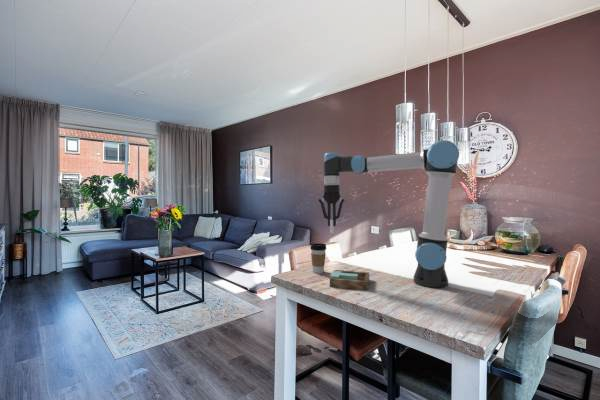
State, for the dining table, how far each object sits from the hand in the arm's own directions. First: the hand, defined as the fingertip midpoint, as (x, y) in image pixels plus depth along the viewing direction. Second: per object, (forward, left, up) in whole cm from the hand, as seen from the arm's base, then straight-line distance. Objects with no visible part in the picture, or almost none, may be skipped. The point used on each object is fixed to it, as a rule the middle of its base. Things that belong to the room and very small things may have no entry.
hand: (331, 232), depth 149 cm
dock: (-9, +5, -23) cm, 25 cm away
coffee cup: (+9, -9, -23) cm, 26 cm away
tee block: (-7, +5, -23) cm, 24 cm away
